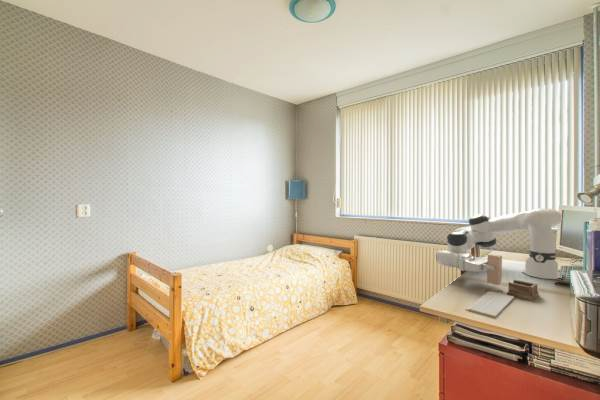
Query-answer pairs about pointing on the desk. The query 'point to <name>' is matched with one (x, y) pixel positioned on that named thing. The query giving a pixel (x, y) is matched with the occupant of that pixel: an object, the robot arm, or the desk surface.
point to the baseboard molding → (490, 304)
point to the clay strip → (495, 274)
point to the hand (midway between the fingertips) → (496, 267)
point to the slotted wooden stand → (523, 290)
